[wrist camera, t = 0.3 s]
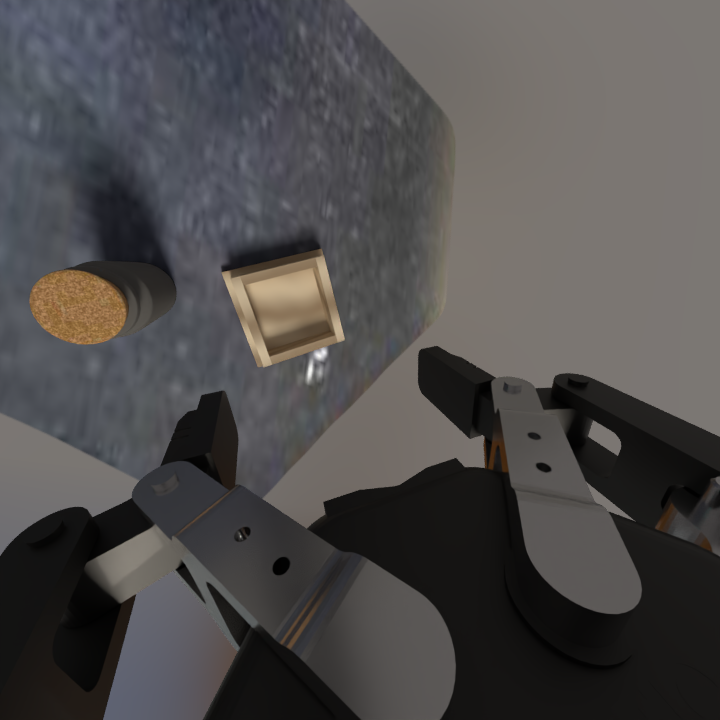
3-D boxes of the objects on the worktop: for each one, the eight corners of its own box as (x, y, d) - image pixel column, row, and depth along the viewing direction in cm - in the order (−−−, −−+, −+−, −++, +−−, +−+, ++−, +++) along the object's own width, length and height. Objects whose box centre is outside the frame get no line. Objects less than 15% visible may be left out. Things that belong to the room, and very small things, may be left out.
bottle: (178, 318, 34) (140, 353, 20) (115, 316, 31) (25, 352, 18) (175, 265, 32) (131, 265, 19) (108, 258, 30) (4, 253, 17)
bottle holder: (221, 272, 34) (220, 273, 30) (319, 249, 37) (328, 247, 34) (257, 364, 38) (259, 374, 35) (341, 336, 42) (351, 343, 38)
